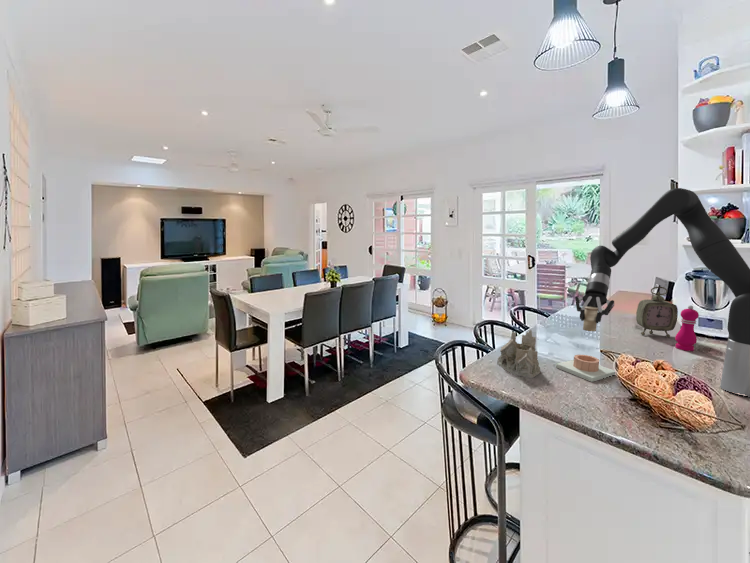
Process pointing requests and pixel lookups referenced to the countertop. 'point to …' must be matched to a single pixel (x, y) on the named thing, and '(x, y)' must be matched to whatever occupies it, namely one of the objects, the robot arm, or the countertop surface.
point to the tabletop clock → (657, 314)
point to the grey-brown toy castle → (520, 356)
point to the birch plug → (590, 318)
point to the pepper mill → (687, 330)
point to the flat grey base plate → (586, 368)
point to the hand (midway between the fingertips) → (589, 320)
